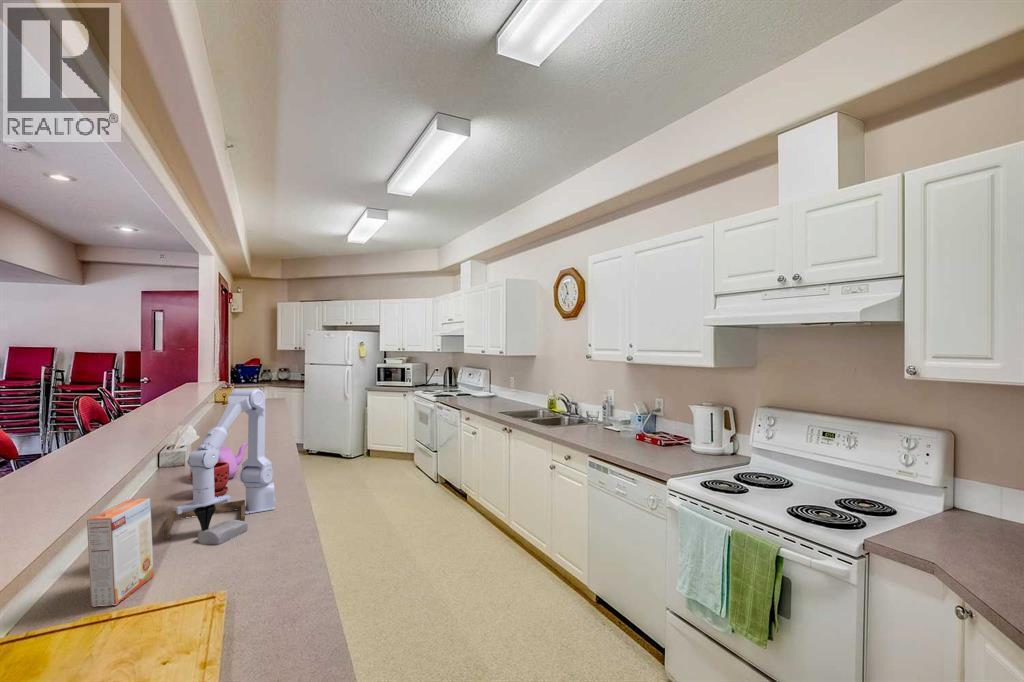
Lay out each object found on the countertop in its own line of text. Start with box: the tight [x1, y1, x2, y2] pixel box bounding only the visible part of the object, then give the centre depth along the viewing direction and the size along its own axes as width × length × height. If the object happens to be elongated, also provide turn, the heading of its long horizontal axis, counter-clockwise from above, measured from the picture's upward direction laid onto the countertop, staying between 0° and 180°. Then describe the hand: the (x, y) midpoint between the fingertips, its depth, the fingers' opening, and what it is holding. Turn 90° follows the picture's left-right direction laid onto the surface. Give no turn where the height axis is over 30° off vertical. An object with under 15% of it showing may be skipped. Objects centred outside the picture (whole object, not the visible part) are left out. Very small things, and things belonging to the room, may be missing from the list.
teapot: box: [218, 441, 248, 479], centre depth 217 cm, size 23×21×15 cm
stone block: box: [197, 519, 249, 545], centre depth 153 cm, size 12×5×10 cm
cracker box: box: [86, 497, 155, 607], centre depth 120 cm, size 14×6×21 cm, turn 5°
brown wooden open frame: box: [162, 499, 246, 540], centre depth 165 cm, size 22×19×3 cm
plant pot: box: [189, 462, 230, 497], centre depth 193 cm, size 13×13×12 cm
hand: (204, 530), depth 154 cm, fingers closed
